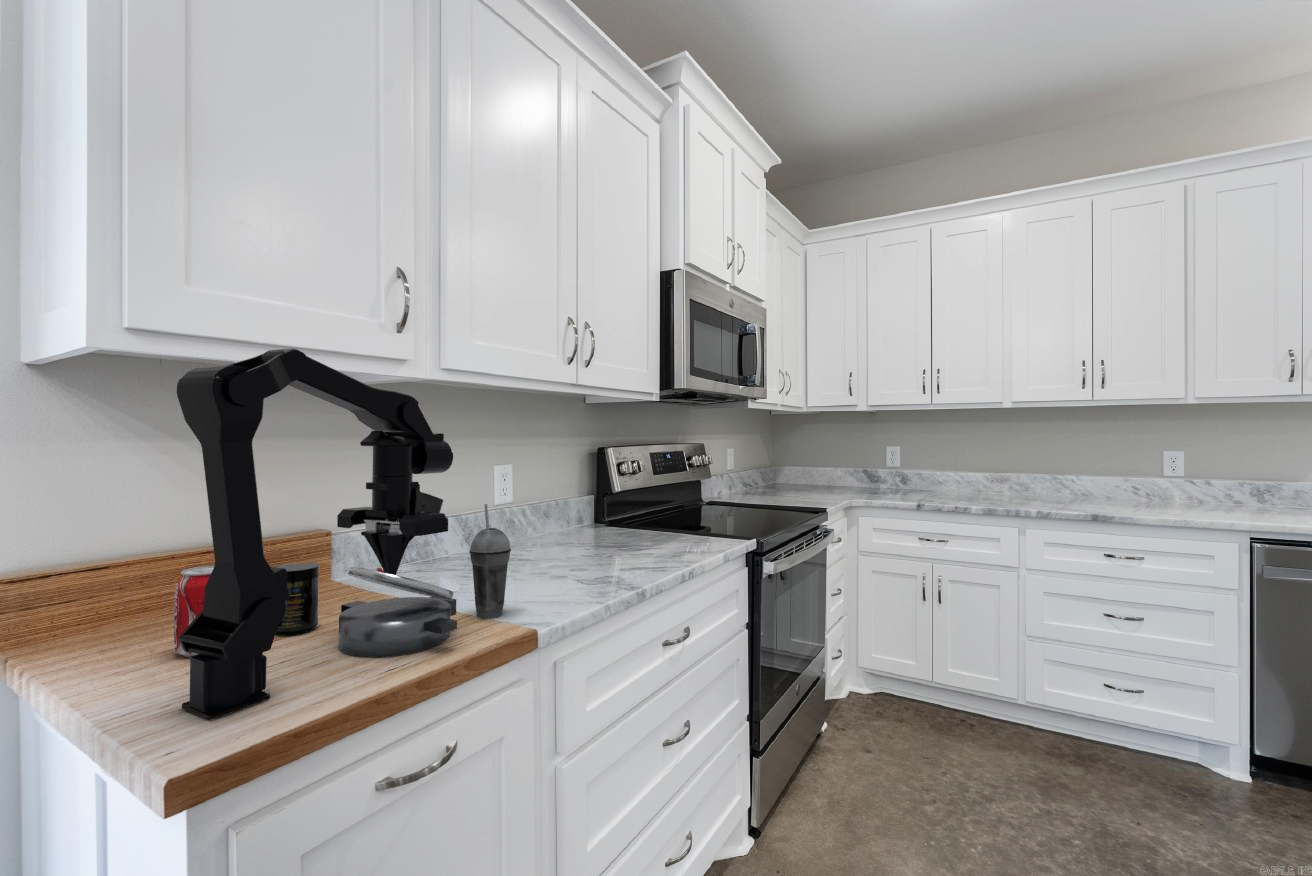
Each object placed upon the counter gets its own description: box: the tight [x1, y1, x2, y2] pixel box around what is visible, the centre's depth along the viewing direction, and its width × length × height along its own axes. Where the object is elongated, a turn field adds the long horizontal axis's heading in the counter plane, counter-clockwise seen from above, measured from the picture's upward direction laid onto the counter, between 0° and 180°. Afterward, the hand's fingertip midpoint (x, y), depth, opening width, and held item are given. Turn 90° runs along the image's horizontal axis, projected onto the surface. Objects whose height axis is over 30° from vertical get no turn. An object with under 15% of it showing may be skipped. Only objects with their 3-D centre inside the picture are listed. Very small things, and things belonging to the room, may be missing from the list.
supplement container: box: [275, 562, 320, 637], centre depth 96 cm, size 7×7×10 cm
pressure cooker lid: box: [347, 566, 455, 599], centre depth 93 cm, size 16×16×2 cm
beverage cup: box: [468, 503, 512, 620], centre depth 106 cm, size 7×7×20 cm
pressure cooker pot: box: [338, 596, 458, 659], centre depth 93 cm, size 18×23×4 cm
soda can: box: [173, 565, 215, 658], centre depth 86 cm, size 7×7×12 cm
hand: (391, 576), depth 91 cm, fingers closed, pressing on pressure cooker lid
